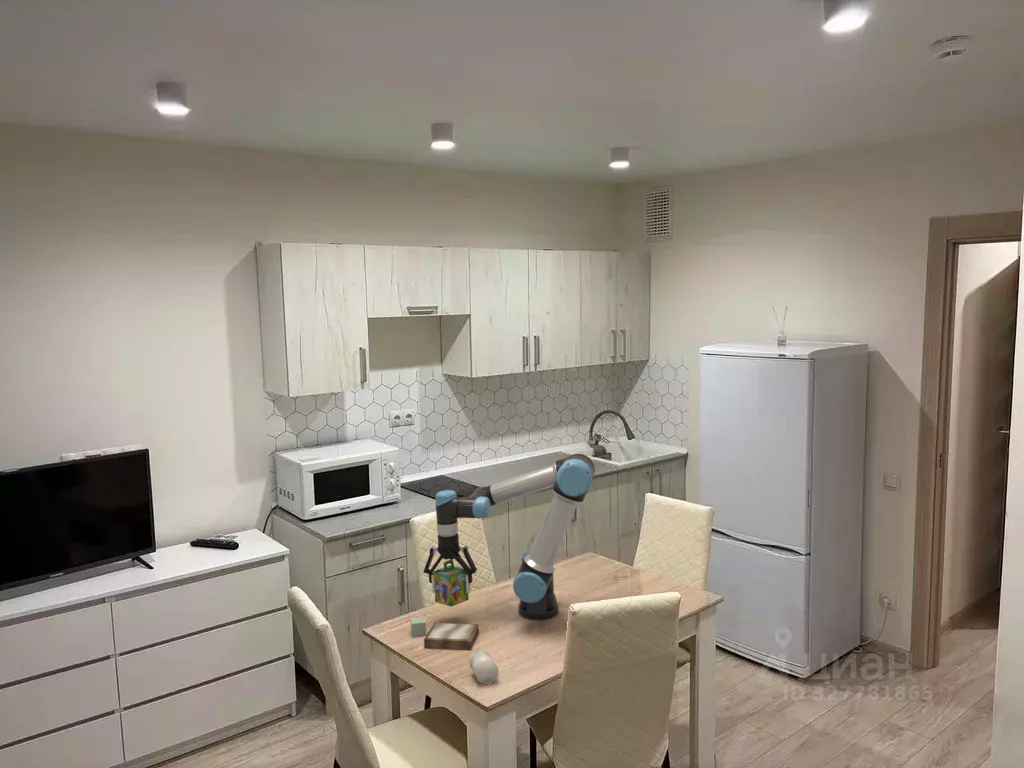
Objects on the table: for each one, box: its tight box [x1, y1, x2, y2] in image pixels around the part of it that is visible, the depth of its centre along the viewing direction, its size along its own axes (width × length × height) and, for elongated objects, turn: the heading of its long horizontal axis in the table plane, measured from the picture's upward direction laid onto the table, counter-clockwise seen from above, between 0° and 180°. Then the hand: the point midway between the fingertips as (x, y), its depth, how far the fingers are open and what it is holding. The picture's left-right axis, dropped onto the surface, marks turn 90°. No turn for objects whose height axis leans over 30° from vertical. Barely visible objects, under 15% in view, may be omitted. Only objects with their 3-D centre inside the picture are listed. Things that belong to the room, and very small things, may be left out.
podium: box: [423, 622, 480, 651], centre depth 260 cm, size 16×14×3 cm
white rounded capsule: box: [469, 650, 499, 685], centre depth 232 cm, size 7×7×8 cm
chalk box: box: [433, 559, 470, 608], centre depth 274 cm, size 9×9×15 cm
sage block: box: [410, 616, 428, 638], centre depth 266 cm, size 5×5×5 cm
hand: (451, 591), depth 274 cm, fingers closed on chalk box, 12 cm apart
